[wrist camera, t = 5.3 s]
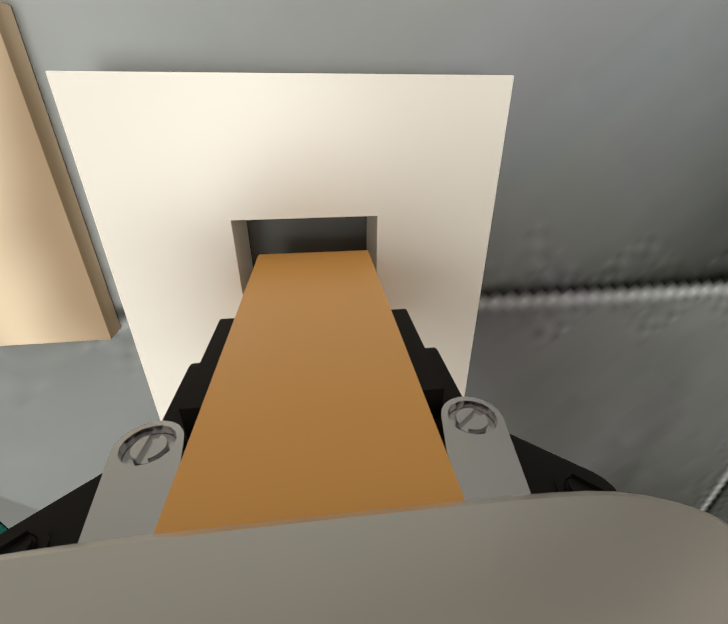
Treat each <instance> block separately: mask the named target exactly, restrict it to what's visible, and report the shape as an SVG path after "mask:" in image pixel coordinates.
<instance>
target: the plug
mask: <svg viewBox="0 0 728 624" xmlns="http://www.w3.org/2000/svg"><path fill="white" fill-rule="evenodd" d="M462 500H465V499H464V496H463V493H462V491H461V488H460V486H459V483H458V481H457V478H456V475H455V473H454V470H453V468H452V465H451V463H450V460H449V457H448V455H447V452H446V450H445V447H444V445H443V442H442V439H441V437H440V434H439V432H438V429H437V427H436V424H435V421H434V419H433V416H432V414H431V411H430V409H429V406H428V403H427V401H426V398H425V396H424V393H423V391H422V388H421V385H420V383H419V380H418V378H417V375H416V373H415V370H414V367H413V365H412V362H411V360H410V357H409V355H408V352H407V349H406V347H405V344H404V342H403V339H402V337H401V334H400V331H399V329H398V326H397V324H396V321H395V319H394V316H393V313H392V311H391V308H390V306H389V303H388V301H387V298H386V295H385V293H384V290H383V288H382V285H381V282H380V280H379V277H378V275H377V272H376V270H375V267H374V264H373V262H372V259H371V257H370V254H369V252H368V250H360V251H335V252H309V253H284V254H259V255H258V257H257V260H256V263H255V265H254V268H253V271H252V273H251V276H250V279H249V281H248V284H247V287H246V289H245V292H244V295H243V297H242V300H241V303H240V305H239V308H238V311H237V313H236V316H235V318H234V321H233V324H232V326H231V329H230V332H229V334H228V337H227V340H226V342H225V345H224V348H223V350H222V353H221V356H220V358H219V361H218V364H217V366H216V369H215V372H214V374H213V377H212V380H211V382H210V385H209V388H208V390H207V393H206V395H205V398H204V401H203V403H202V406H201V409H200V411H199V414H198V417H197V419H196V422H195V425H194V427H193V430H192V433H191V435H190V438H189V441H188V443H187V446H186V449H185V451H184V454H183V457H182V459H181V462H180V464H179V467H178V470H177V472H176V475H175V478H174V480H173V483H172V486H171V488H170V491H169V494H168V496H167V499H166V502H165V504H164V507H163V510H162V512H161V515H160V518H159V520H158V523H157V526H156V528H155V531H154V534H159V533H167V532H176V531H185V530H194V529H202V528H211V527H220V526H229V525H237V524H246V523H255V522H264V521H274V520H283V519H292V518H301V517H310V516H319V515H329V514H338V513H347V512H356V511H366V510H375V509H384V508H394V507H404V506H414V505H423V504H433V503H443V502H452V501H462Z"/></svg>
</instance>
